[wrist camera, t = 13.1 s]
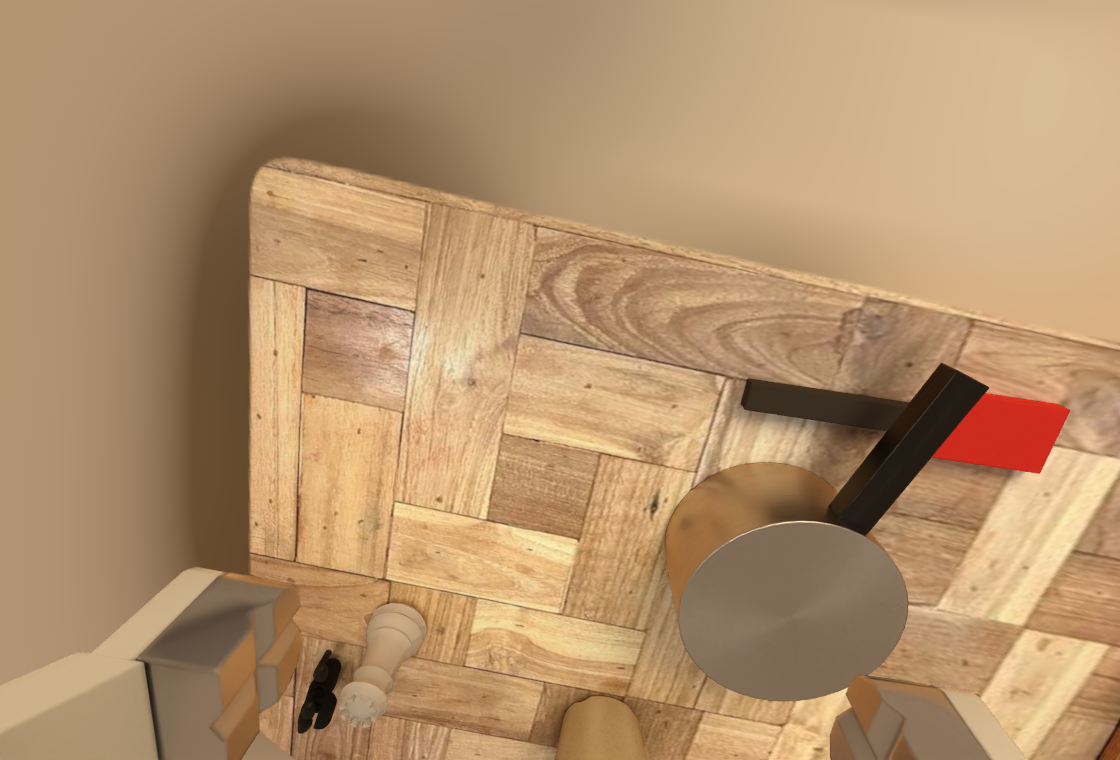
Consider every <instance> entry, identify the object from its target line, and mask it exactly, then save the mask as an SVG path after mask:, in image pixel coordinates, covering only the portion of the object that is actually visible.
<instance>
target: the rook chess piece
mask: <svg viewBox="0 0 1120 760" xmlns="http://www.w3.org/2000/svg"><path fill="white" fill-rule="evenodd" d="M426 633H427V632H426V623H425V621H424V619H423V618H422V616H421V614H420V612H418V611H417V610H416V609H415V608H414V607H412V606H410V605H407V604H405V603H395V602H394V603H390V604H387V605H384V606H381V607H379V608H378V609H377V610H376V611H375V612H374V613H373V615H372V618H371V620H370V622H369V625H368V627H367V631H366V637H367V652H366V655H365V658H364V661H363V663H362V665H361V667H360V668H359V669H358V670H356V671H355V673H354V675H353V681H354V682H351V683H349V684H348V685H346V686H345V687H344V688H343V689H342V691H341V693H340V700H341V705H340V708H339V710H342V712H341V714H340V717H341V718H342V719H343V721H344V720H346V719H347V717H348V716H349V717H351V718H352V720H351V722H350V724H349V725H350V726H353V727H357V725H358V723H359V721H362V722H363V724H362V726H363V728H366V727H370V725H371V723H372V722H374V723H375V721H376V719H377V718H378V717H380V716H381V715H383V714H384V713H385V712H386V710H387V707H388V701H387V696H386V694H388V693H389V692H390V691H391V689H392V687H393V682H392V679H393V677H394V676H395V674H396V672H397V671H398V669H399V667H400V666H401V664H402V663H404V662H405V661H406V660H407V659H409V658H410V657H411V656H412V655H413V654H415V653H416V652H417V651H418V649H419V647H420V645H421V643H422V641H423V640H424V638H425V635H426Z"/></svg>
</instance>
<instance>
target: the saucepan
mask: <svg viewBox="0 0 1120 760" xmlns="http://www.w3.org/2000/svg"><path fill="white" fill-rule="evenodd" d="M988 389H989V387H988V386H986V385H984V384H982V383H980V382H978V381H977V380H975V379H973V378H971V377H969V376H967V375H965V374H964V373H962V372H960V371H958V370H956V369H954V368H952V367H950V366H948V365H946V364H943V363H941V364H940V365H939V366H938V367H937V369H936V370H935V371H934V372H933V374H932V375H931V376H930V378H929V379H928V380H927V381H926V383H925V384H924V385H923V386H922V388H921V389H920V390H919V391H918V393H917V394H916V395H915V397H914V398H913V399H912V400H911V402H910V403H909V404H908V405H907V407H906V408H905V409H904V411H903V412H902V413H901V414H900V416H899V417H898V418H897V419H896V421H895V422H894V423H893V424H892V426H891V427H890V428H889V430H888V431H887V432H886V433H885V435H884V436H883V437H882V438H881V440H880V441H879V442H878V444H877V445H876V446H875V447H874V449H873V450H872V451H871V452H870V454H869V455H868V456H867V457H866V459H865V460H864V461H863V463H862V464H861V465H860V466H859V468H858V469H857V470H856V471H855V473H854V474H853V475H852V477H851V478H850V479H849V480H848V482H847V483H846V484H845V485H844V487H843V488H842V489H841V490H840V492H839V493H838V492H837V491H836V490H835V489H834V488H833V487H832V486H831V485H830V484H828V483H827V482H826V481H825V480H823V479H822V478H820V477H818V476H817V475H815V474H813V473H811V472H809V471H806V470H804V469H802V468H798V467H795V466H791V465H786V464H780V463H750V464H745V465H740V466H736V467H733V468H729V469H726V470H724V471H721V472H719V473H717V474H715V475H713V476H711V477H709V478H708V479H706V480H704V481H703V482H701V483H700V484H699V485H697V486H696V487H695V488H694V489H692V490H691V491H690V492H689V493H688V494H687V495H686V496H685V497H684V499H683V500H682V501H681V503H680V504H679V505H678V506H677V508H676V510H675V512H674V513H673V515H672V517H671V520H670V522H669V525H668V528H667V532H666V536H665V556H666V562H667V567H668V573H669V578H670V583H671V589H672V594H673V600H674V605H675V610H676V616H677V621H678V627H679V631H680V635H681V639H682V642H683V644H684V646H685V649H686V651H687V652H688V654H689V655H690V657H691V659H692V660H693V661H694V662H695V664H696V665H697V666H698V667H699V668H700V669H701V670H702V671H703V672H704V673H705V674H706V675H707V676H708V677H710V678H711V679H713V680H714V681H715V682H717V683H718V684H720V685H722V686H724V687H726V688H728V689H729V690H732V691H734V692H737V693H739V694H742V695H745V696H749V697H753V698H757V699H763V700H769V701H800V700H808V699H814V698H818V697H822V696H826V695H829V694H832V693H835V692H838V691H841V690H843V689H845V688H847V687H849V685H850V683H851V680H853V679H854V678H855V677H856V676H858V675H859V674H862V675H869V674H870V673H872V672H873V671H874V670H875V669H877V668H878V667H879V666H880V665H881V664H882V663H883V662H884V661H885V660H886V659H887V657H888V656H889V655H890V654H891V652H892V651H893V650H894V648H895V646H896V645H897V643H898V642H899V640H900V638H901V635H902V633H903V631H904V628H905V624H906V620H907V614H908V595H907V590H906V586H905V582H904V579H903V577H902V575H901V573H900V570H899V569H898V567H897V566H896V564H895V563H894V561H893V560H892V558H891V557H890V556H889V555H888V553H887V552H886V551H885V550H884V548H883V547H882V546H881V545H880V544H879V542H878V541H877V540H876V539H875V537H874V536H873V535H872V534H871V532H870V530H871V529H872V528H873V527H874V526H875V524H876V523H877V522H878V521H879V520H880V518H881V517H882V516H883V515H884V514H885V512H886V511H887V510H888V509H889V508H890V506H891V505H892V504H893V503H894V502H895V500H896V499H897V498H898V497H899V496H900V494H901V493H902V492H903V491H904V490H905V488H906V487H907V486H908V485H909V484H910V482H911V481H912V480H913V479H914V478H915V476H916V475H917V474H918V473H919V472H920V470H921V469H922V468H923V467H924V466H925V464H926V463H927V462H928V461H929V460H930V459H931V457H932V456H933V455H934V454H935V453H936V451H937V450H938V449H939V448H940V447H941V445H942V444H943V443H944V442H945V441H946V439H947V438H948V437H949V436H950V435H951V433H952V432H953V431H954V430H955V429H956V427H957V426H958V425H959V424H960V423H961V421H962V420H963V419H964V418H965V417H966V415H967V414H968V413H969V412H970V411H971V409H972V408H973V407H974V406H975V405H976V403H977V402H978V401H979V400H980V399H981V397H982V396H983V395H984V394H985V393H986V391H987V390H988Z"/></svg>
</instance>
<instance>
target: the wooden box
mask: <svg viewBox="0 0 1120 760" xmlns="http://www.w3.org/2000/svg"><path fill="white" fill-rule="evenodd" d="M1099 760H1120V726H1119V727H1118V729H1117V731H1116V732H1115V734H1114V736H1113V737H1112V739H1111V740H1110V742H1109V744H1108V745H1107V747H1106V748H1105V750H1104V752H1103V753H1102V755H1101V757H1100V759H1099Z"/></svg>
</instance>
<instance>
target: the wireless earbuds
mask: <svg viewBox="0 0 1120 760" xmlns="http://www.w3.org/2000/svg"><path fill="white" fill-rule="evenodd" d="M331 653H332V651H331V650H329V649H328V650H327V651H326V652H325V654H324V656H323V657H322V659H321V661H320V662H319V664H318V666H317V667H316V669H315V671H314V674H313V677H314V680H313V681H312V683H311V685H310V686H309V690H308V693H307V696H306V700H305V702H304V704H303V706H302V708H301V712H300V715H299V718H298V733H304V732H306V731H307V730H308V729H309V728H310V727H311V725H312V722H313V720H312V717H313V716H314V714H315V713H318V716H317V719H316V722H315V725H314V729H323V728H325V727H326V726H327V725H328V724H329V723H330V721H331V719H332V716H333V713H334V710H335V707H336V703H337V699H336V696H335V695H334V694H333V693H332V691H333V689H334V687H335V685H336V682H337V679H338V676H339V673H340V670H341V663H340V661H339V660H338V659H336V658H330V659H328V658H329V657H330V655H331Z"/></svg>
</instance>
